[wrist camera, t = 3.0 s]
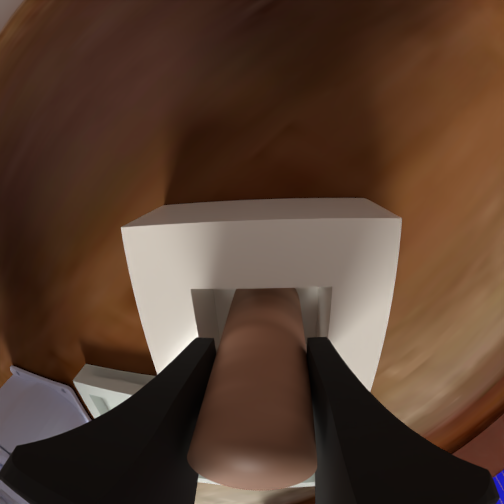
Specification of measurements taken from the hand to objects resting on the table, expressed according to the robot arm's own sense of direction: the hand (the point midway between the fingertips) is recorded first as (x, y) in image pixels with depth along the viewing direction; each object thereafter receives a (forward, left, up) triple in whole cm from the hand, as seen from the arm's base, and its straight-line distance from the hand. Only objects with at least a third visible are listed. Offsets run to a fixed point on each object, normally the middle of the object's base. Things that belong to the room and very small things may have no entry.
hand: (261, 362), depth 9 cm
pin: (0, 0, -4) cm, 4 cm away
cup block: (0, 0, -5) cm, 5 cm away
